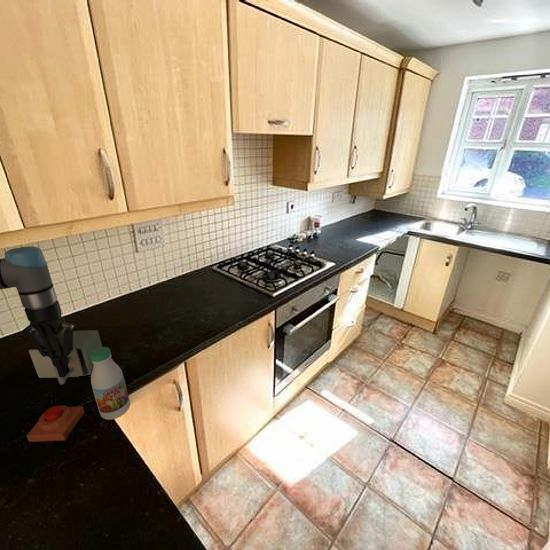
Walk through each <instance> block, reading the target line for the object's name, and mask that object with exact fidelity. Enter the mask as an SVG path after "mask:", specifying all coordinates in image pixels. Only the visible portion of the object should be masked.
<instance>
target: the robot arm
mask: <svg viewBox="0 0 550 550" xmlns="http://www.w3.org/2000/svg"><path fill="white" fill-rule="evenodd" d="M11 288H16V290H17V294H18V297H19V299H20V303H21V305H22V307H23V308H24V313H25V315H26V318H27V321H29V324H28V325H27V326H26V327H24V328H23V329H22V332H23V333H24V334H25V335H26V336H28V337H29V339H30V340H31V342H32V343H33V345H34V346H35V349H38V351H39V352H40V354H41V355H42V356H43V357H46V356H48V357H49V358H50V359H51V361H52V364H53V366H54V367H56V369H57V372H58V375H59V377H65V376H66V375H67V374H68V373H69V372H70V369H69V366H68V364H69V359H68V355H69V354H70V353H71V352H72V351H73V331H74V329H75V327H76V324H75V323H73V322H71V323H68V322H66V321H65V318H64V317H62V308H61V305H60V302H59V300H58V296H57V293H56V292H57V291H56V290H55V287H54V283H53V281H52V277H51V273H50V270H49V266H48V261H47V260H46V258H45V255H44V253H43V251H42V249H41V248H40V247H39V246H38V247H37V246H32V245H28V246H21V247H15V248H11V249H8V250H6V251H5V252H4V258H3V257H2V258H0V290H6V289H11ZM62 331H63V332H64V333H63V337H62ZM45 350H46V351H45Z"/></svg>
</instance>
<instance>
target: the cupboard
mask: <svg viewBox="0 0 550 550" xmlns="http://www.w3.org/2000/svg"><path fill="white" fill-rule="evenodd" d="M63 333H64V332H63V331H62V337H63ZM100 347H103V344H102V341H101V337H100V333H99V330H98V329H96V330H73V348H76V349H77V353H78V356H79V359H80V362H81V366H82V369H83V372H84V376H86V375H92V371H93V366H94V364H93V363H92V360H91V357H90V354H91V352H92V351H93V350H95V349H97V348H100ZM55 378H56V379H58V378H57V377H50V378H49V379H55Z"/></svg>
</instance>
